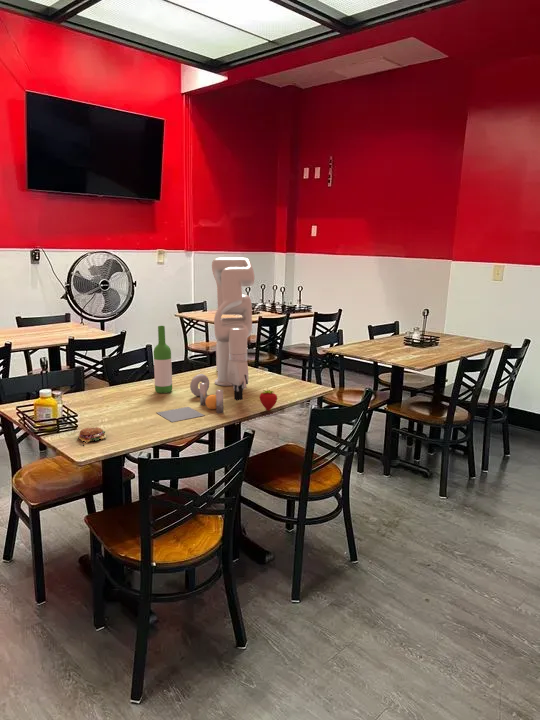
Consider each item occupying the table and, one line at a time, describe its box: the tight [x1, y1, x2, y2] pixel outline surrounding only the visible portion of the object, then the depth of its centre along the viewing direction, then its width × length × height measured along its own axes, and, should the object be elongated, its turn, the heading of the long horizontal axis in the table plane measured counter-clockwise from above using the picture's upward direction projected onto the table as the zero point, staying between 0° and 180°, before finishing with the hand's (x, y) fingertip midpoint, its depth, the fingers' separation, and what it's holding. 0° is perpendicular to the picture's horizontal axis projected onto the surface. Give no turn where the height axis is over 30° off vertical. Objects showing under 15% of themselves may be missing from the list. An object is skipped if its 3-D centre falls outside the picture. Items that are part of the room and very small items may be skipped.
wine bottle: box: [153, 325, 173, 394], centre depth 240 cm, size 8×8×30 cm
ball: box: [205, 394, 216, 410], centre depth 216 cm, size 6×6×6 cm
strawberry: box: [259, 389, 278, 412], centre depth 214 cm, size 6×8×10 cm
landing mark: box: [156, 406, 206, 423], centre depth 210 cm, size 14×14×1 cm
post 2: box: [215, 389, 224, 414], centre depth 211 cm, size 3×3×9 cm
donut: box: [189, 373, 210, 397], centre depth 235 cm, size 10×4×10 cm, turn 138°
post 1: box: [199, 382, 208, 406], centre depth 222 cm, size 3×3×9 cm
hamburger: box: [77, 426, 107, 443], centre depth 181 cm, size 14×14×6 cm
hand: (238, 399), depth 225 cm, fingers closed
